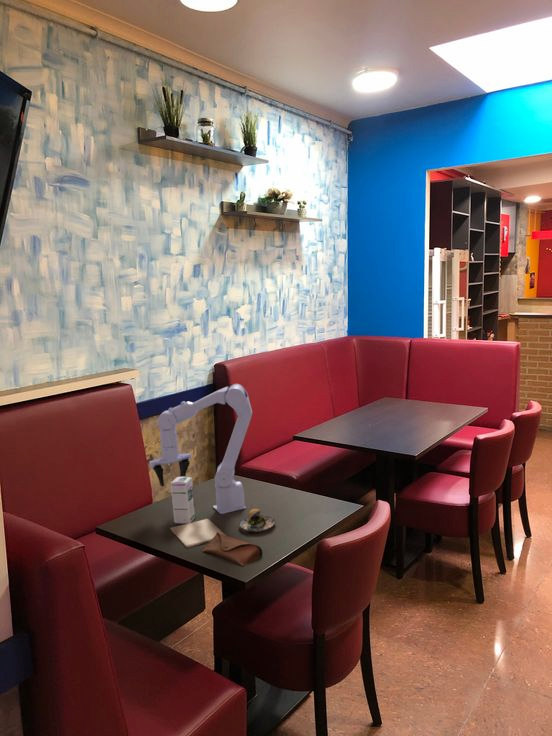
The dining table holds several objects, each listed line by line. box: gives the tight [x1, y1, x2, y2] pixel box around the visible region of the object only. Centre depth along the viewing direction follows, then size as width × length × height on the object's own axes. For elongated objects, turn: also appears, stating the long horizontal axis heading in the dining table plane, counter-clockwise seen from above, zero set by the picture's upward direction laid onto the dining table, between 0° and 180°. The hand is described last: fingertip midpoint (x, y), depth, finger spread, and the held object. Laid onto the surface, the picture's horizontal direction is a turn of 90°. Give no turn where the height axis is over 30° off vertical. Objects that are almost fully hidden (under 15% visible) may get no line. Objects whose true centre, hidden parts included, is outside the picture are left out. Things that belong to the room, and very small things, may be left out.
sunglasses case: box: [201, 532, 263, 567], centre depth 172 cm, size 18×7×7 cm, turn 52°
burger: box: [238, 505, 276, 535], centre depth 189 cm, size 12×12×8 cm
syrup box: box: [170, 476, 197, 525], centre depth 196 cm, size 6×6×14 cm
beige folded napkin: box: [170, 518, 227, 549], centre depth 186 cm, size 13×16×1 cm
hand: (172, 483), depth 204 cm, fingers open, 7 cm apart
